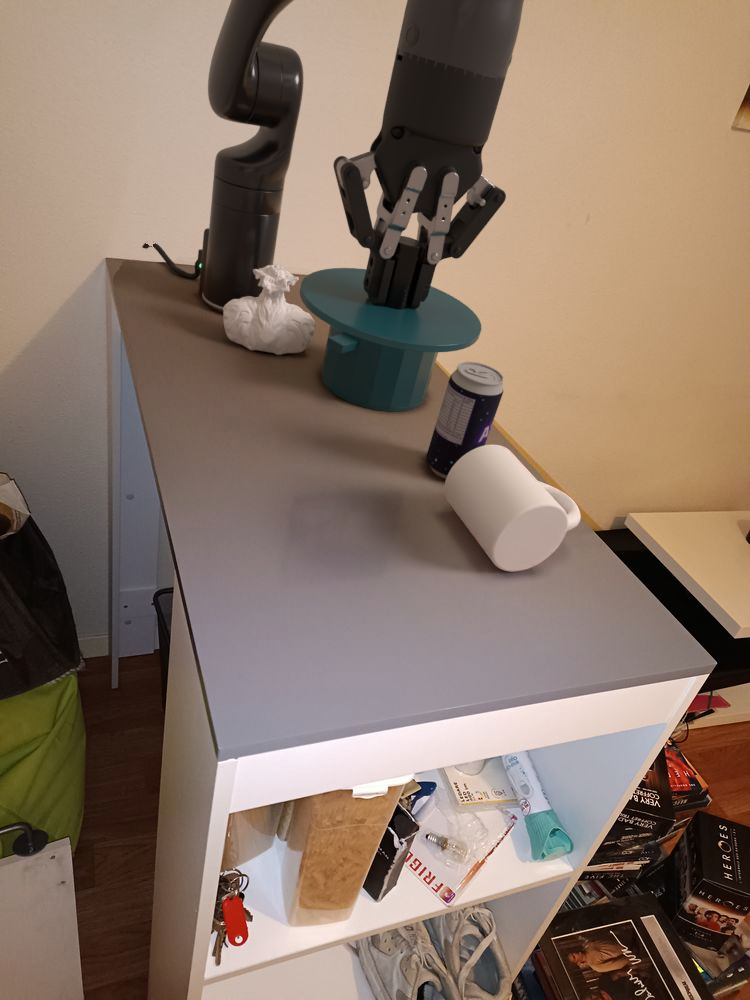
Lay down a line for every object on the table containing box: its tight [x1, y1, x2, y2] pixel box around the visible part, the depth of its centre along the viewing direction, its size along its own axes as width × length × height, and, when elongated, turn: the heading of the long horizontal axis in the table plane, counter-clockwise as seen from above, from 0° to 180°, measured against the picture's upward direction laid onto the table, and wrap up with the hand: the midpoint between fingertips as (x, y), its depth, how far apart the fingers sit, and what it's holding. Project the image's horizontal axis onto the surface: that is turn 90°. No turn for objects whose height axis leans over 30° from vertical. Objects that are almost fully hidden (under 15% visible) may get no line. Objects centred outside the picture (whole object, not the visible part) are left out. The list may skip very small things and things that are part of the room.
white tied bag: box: [222, 263, 316, 356], centre depth 96 cm, size 12×8×11 cm
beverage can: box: [425, 361, 504, 480], centre depth 78 cm, size 6×6×12 cm
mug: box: [443, 444, 582, 573], centre depth 71 cm, size 12×10×8 cm
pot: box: [321, 325, 439, 412], centre depth 93 cm, size 14×19×8 cm
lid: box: [299, 235, 482, 353], centre depth 58 cm, size 15×15×6 cm
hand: (392, 301), depth 59 cm, fingers closed on lid, 2 cm apart
